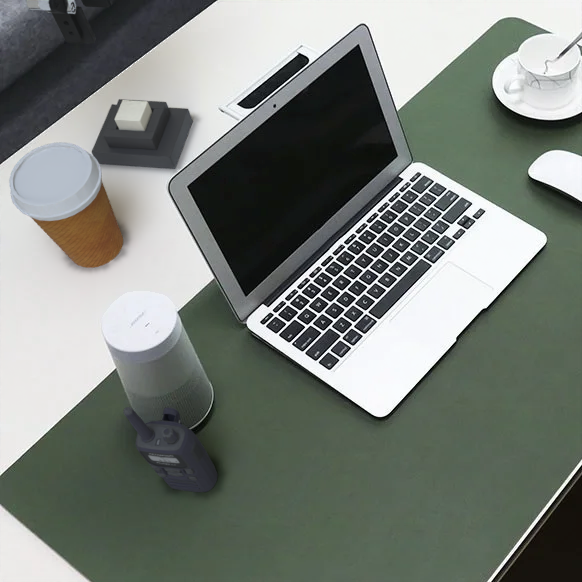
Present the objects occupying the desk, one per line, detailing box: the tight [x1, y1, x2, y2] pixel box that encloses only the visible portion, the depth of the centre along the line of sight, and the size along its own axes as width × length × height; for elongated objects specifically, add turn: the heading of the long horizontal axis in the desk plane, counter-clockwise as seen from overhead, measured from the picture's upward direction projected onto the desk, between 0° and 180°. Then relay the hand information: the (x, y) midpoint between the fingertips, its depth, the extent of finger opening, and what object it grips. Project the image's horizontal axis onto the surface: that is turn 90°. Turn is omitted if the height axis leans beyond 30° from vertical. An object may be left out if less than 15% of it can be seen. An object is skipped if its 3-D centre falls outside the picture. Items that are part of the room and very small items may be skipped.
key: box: [115, 99, 152, 131], centre depth 99 cm, size 3×3×2 cm
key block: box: [91, 98, 194, 170], centre depth 101 cm, size 10×8×4 cm
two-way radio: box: [122, 406, 219, 493], centre depth 75 cm, size 6×4×15 cm
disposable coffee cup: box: [8, 141, 124, 269], centre depth 91 cm, size 10×10×12 cm
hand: (89, 21), depth 88 cm, fingers open, 4 cm apart
